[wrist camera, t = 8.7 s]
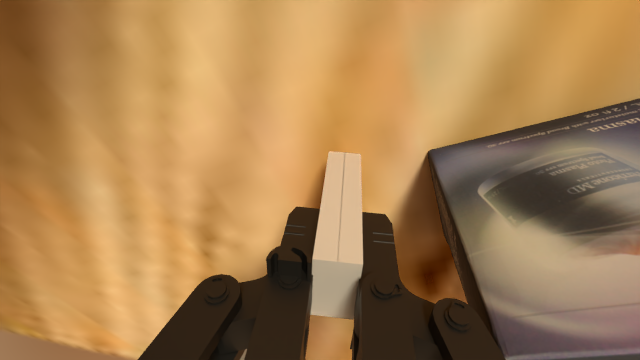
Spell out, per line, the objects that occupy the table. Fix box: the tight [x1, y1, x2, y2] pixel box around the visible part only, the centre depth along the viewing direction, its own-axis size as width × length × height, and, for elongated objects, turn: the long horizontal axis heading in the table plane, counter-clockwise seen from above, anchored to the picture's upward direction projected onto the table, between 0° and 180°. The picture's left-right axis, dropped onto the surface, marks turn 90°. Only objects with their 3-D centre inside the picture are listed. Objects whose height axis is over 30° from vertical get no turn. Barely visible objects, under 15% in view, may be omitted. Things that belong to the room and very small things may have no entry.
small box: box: [428, 99, 640, 360], centre depth 11 cm, size 11×6×10 cm, turn 110°
